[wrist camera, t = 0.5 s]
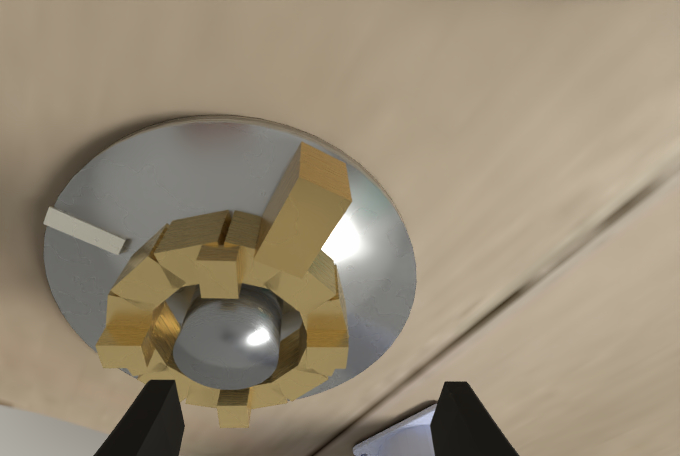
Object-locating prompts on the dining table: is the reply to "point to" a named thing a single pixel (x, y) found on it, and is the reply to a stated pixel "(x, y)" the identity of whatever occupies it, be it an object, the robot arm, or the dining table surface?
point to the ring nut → (226, 280)
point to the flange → (231, 194)
